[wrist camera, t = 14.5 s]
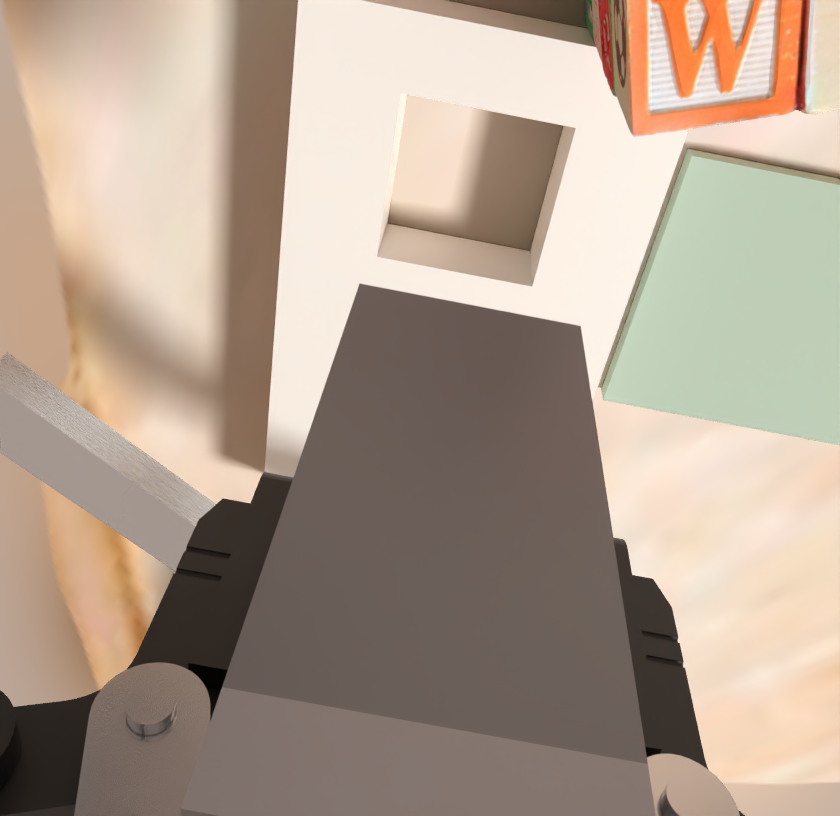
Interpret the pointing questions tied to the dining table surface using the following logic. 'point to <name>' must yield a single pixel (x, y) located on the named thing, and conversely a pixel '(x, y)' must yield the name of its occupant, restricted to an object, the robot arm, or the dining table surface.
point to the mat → (739, 302)
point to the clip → (95, 465)
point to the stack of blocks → (716, 59)
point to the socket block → (432, 252)
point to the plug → (437, 590)
